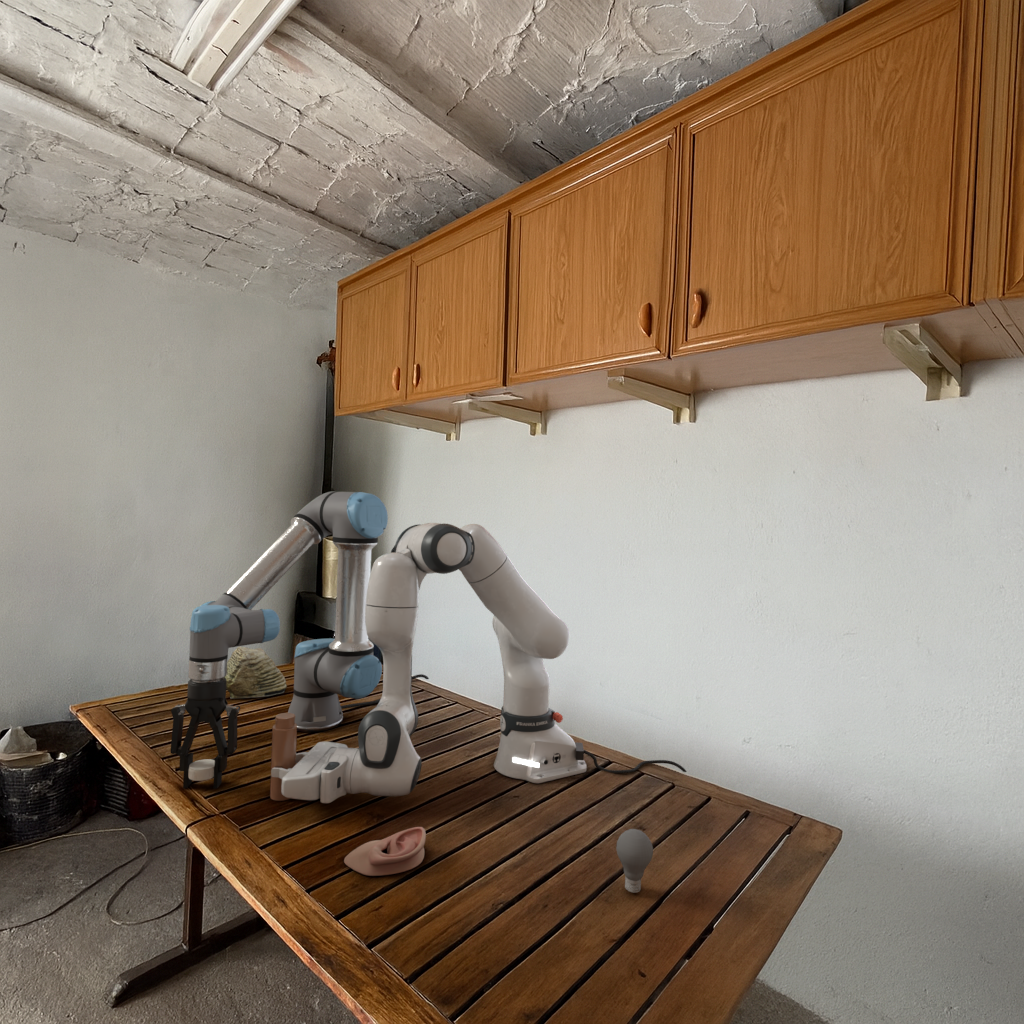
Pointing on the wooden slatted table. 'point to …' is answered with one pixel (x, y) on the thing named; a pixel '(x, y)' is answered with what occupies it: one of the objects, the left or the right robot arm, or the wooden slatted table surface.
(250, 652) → the fossil
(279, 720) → the brown bottle
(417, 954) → the wooden slatted table surface
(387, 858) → the anatomical model
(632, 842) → the light bulb
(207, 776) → the lid
